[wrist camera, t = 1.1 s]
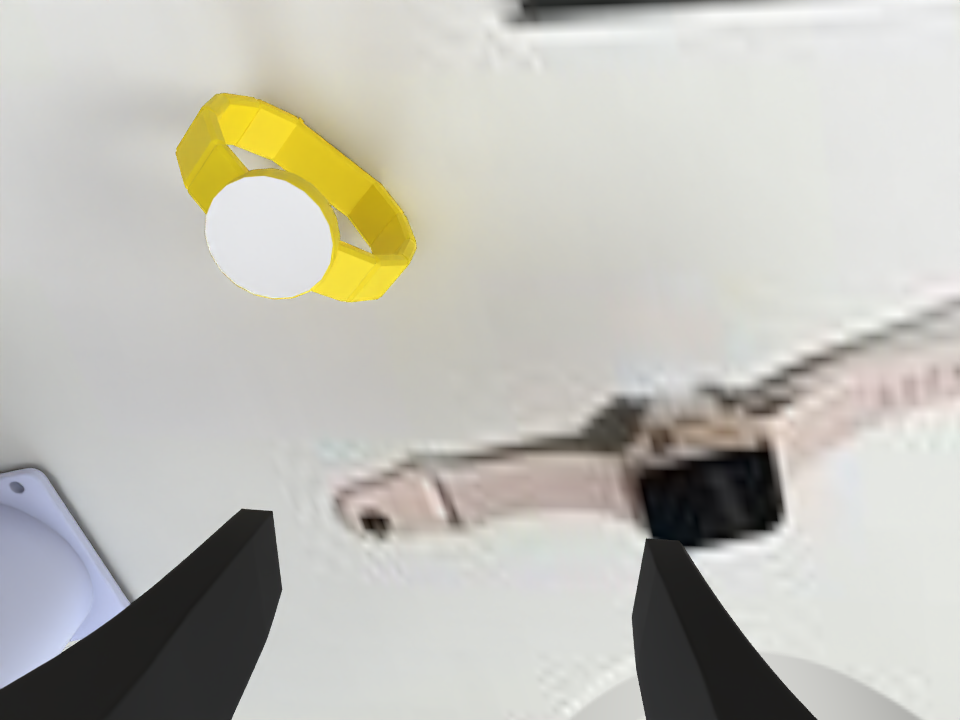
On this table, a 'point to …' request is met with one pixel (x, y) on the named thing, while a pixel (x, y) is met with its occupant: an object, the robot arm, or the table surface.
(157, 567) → the table surface
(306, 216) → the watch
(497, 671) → the table surface
